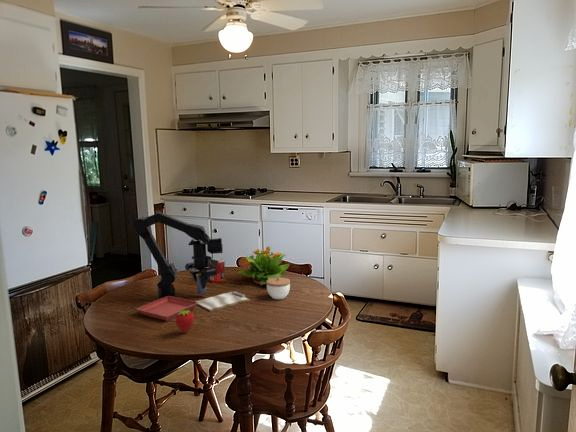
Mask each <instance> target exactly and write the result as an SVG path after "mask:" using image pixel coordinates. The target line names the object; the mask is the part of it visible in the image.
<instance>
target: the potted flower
mask: <svg viewBox="0 0 576 432" xmlns="http://www.w3.org/2000/svg"><path fill="white" fill-rule="evenodd" d="M252 253H253V254H252V255H249V256H248V255H245V258H246V260H247V262H248V263H249V264H250V265H249V268H246V269H241V270H239V271H237V273H238V274H240V275H244V276H246V277H248V278H252V280H253V282H254V283H255V284H258V285H260V286H263V285H267V284H266V281H267V280H268V279H271V278H277V277H282V276H283V277H284V275H285V273H286V271H287V269H289V266H290V263H285V264H282V262H283V258H284V257H285V256H287V254H284V253H281V252H275V253H274V252H273V251H271V246H266V248H265V249H262V250H260V249H258V248H257V249H256V250H253V252H252Z"/></svg>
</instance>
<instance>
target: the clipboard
mask: <svg viewBox="0 0 576 432" xmlns="http://www.w3.org/2000/svg"><path fill="white" fill-rule="evenodd" d="M250 300H251V299H250V298H248V297H246V295H245V294H243V293H241V292H238V291H236V290H234V291H228V292H224V293H220V294H216V295H212V296H209V297H205V298H202V299H198V300H194V301H195V302H198V303H197V305H196V306H198V307H200V308H202V309H204V310H206V311H208V312H211V313H212V312H214V311H215V312H216V311H218V310H222V309H224V308H229V307H232V306H235V305H239V304H243V303H246V302H249V301H250Z"/></svg>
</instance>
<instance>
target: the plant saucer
mask: <svg viewBox="0 0 576 432" xmlns="http://www.w3.org/2000/svg"><path fill="white" fill-rule="evenodd" d="M195 301H196V300H190V299H185V298H182V297H176V296H174V297H172V296H166V297H164V298H161V299H157V300H154V301H152V302H148V303H147V304H145V305H141V306H139V307H137V308H136V310H137V312H138V313H140V314H142V316H147V317H150V318H153V319H154V318H155V319H159V320H162V321H167V322H169V321H171V320H173V319H176V317H177V316H178V313H181V312H179V311H183V310H184V311H187V310H188V311H192V310H194V309H195V308H196V306H198V305H197V303H198V302H195ZM185 307H186V308H185ZM184 308H185V309H184Z"/></svg>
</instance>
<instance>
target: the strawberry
mask: <svg viewBox="0 0 576 432" xmlns="http://www.w3.org/2000/svg"><path fill="white" fill-rule="evenodd" d="M185 308H186V307H185ZM185 308H184V309H185ZM179 312H181V313H178V316H177V317H175V324H176V325H177V326H176V327H177V328H179V330H180V331H181V332H182V333H183V334H186V333H188V331H189V330H190V329H191V327H192V326H193V324H194V321H195V314H194V313H193V312H192V310H190V311H188V310H187V311H184V310H183V311H179Z"/></svg>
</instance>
